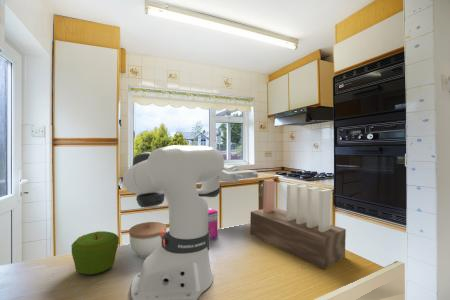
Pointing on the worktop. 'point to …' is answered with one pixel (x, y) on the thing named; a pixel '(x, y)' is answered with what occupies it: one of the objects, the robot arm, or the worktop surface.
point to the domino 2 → (291, 201)
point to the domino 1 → (268, 196)
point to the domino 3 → (301, 204)
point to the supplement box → (212, 223)
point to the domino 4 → (312, 207)
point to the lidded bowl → (146, 238)
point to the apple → (95, 252)
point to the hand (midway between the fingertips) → (250, 176)
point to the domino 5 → (324, 210)
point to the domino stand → (299, 238)
